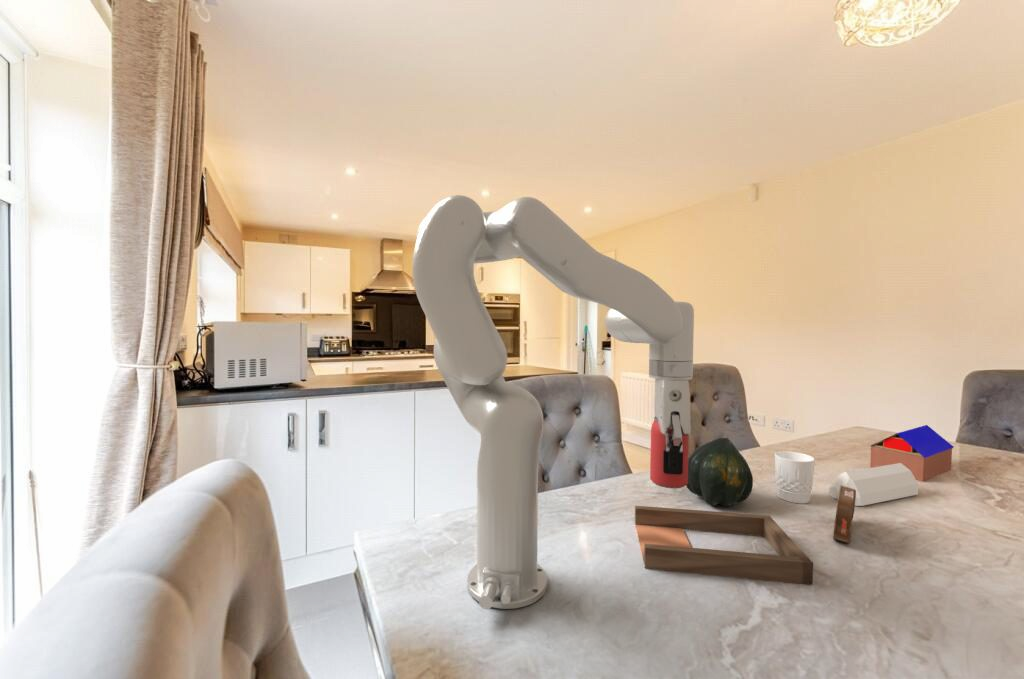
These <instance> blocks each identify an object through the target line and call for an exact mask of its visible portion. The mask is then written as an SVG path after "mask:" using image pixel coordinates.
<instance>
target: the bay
mask: <svg viewBox="0 0 1024 679" xmlns="http://www.w3.org/2000/svg"><path fill="white" fill-rule="evenodd" d="M634 525H636V526H635V529H636V534H638V535H637V539H638V538H639V539H638V543H639V547H641V548H640V552H641V557H642V556H643V557H642V560H643V566H644V565H645V566H644V568H645V569H648V568H651V570H658V569H659V570H658V571H669V572H670V571H671V572H682V573H689V574H690V573H691V574H700V575H709V576H710V575H712V576H720V577H721V576H722V577H732V578H742V579H753V580H761V581H762V580H763V581H771V582H772V581H773V582H780V583H781V582H782V583H792V584H801V585H812V586H813V579H814V575H813V574H814V562H813V561H812V560H811V559H810V558H809V557H808V556H807V555H806V554H805V553H804V551H803V550H802V549H801V548H800V547H799V546H798V545H797V544H796V543H795V541H794V540H792V539H791V537H790V536H789V535H788V533H786V532H785V531H784V530H783V529H782V528H781V526H780V525H779V524H778V523H777V522H776V521H775V520H774V519H773V518H772V517H771V515H768V514H765V515H764V514H754V513H753V514H752V513H740V512H738V513H737V512H726V511H712V510H699V509H686V508H685V509H684V508H674V507H671V508H670V507H659V506H647V505H634ZM684 529H688V530H687V531H696V530H700V531H699V532H708V531H711V533H720V532H723V534H733V535H734V534H735V535H736V534H737V535H744V536H745V535H748V536H758V537H759V536H760V537H764V538H765V540H766V541H767V543H769V545H770V546H771V547H772V548H773V550H774V551H775V552H776V554H770V553H769V554H767V553H755V552H748V551H747V552H746V551H745V552H744V551H733V550H723V549H710V548H699V547H692V546H691V544H690V542H689V539H688V538H687V536H686V535H687V534H686V533H685V530H684ZM689 529H690V530H689Z"/></svg>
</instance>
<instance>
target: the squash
mask: <svg viewBox="0 0 1024 679" xmlns="http://www.w3.org/2000/svg"><path fill="white" fill-rule="evenodd" d="M751 470H752V469H751V468H750V465H749V464H748V462H747V460H746V459H745V457H744V456H743V455H742V453H741V452H740V451H739V450H738V449H737V448H736V446H735V445H734V443H733V442H732V441H731V440H730V439H729V438H728V437H720V438H716V439H713V440H712V441H708V442H706V443H705V444H702V445H701V446H698V448H696V449H695V450H694V451H692V453H691V454H690V455H688V484H687V485H686V486H685V487H686V488H687V489H688V490H689V492H691V493H692V494H694V495H696V496H698V497H700V498H703V499H704V501H705V502H706V503H707V504H708V505H710V506H713V507H714V506H715V507H716V506H717V505H719V504H720V505H722V506H723V507H730V506H734V505H735V504H736V503H741V502H744V501H747V499H748V498H749V496H750V495H751V494H752V490H753V486H754V485H753V484H754V479H753V473H752V471H751Z"/></svg>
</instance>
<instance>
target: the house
mask: <svg viewBox="0 0 1024 679" xmlns="http://www.w3.org/2000/svg"><path fill="white" fill-rule="evenodd" d="M869 447H870V462H869V464H870V467H869V468H873V467H879V466H885V465H891V464H898V463H902V464H903V465H904V466H905V467H907V468H908V469H909V470H911V472H912V474H913V475H914V477H915V479H916V481H917V482H921V483H923V482H925V481H928V480H930V479H932V478H935V477H937V476H940V475H941V474H944V473H946V472H948V471H951V470H952V459H953V458H952V457H953V456H952V455H953V449H954V446H953V445H952V444H951V443H950V442H949V441H947V440H946V439H945V437H943V436H941V434H939V433H937V432H936V431H935V430H934V429H932V427H930V426H929V425H928V424H925V425H921V426H919V427H915V428H911V429H908V430H907V429H906V430H904V431H900V432H896V433H893V434H892V435H891V436H888V437H886V438H883V439H881V440H880V441H877V442H874V443H873V444H871V445H869Z"/></svg>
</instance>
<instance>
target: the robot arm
mask: <svg viewBox="0 0 1024 679" xmlns="http://www.w3.org/2000/svg"><path fill="white" fill-rule="evenodd" d="M412 257H413V258H412V265H411V266H412V267H411V268H412V282H413V287H414V290H415V294H416V297H417V300H418V302H419V304H420V307H421V309H422V311H423V313H424V315H425V318H426V320H427V322H428V324H429V327H430V329H431V330H432V332H433V334H434V336H435V338H436V339H435V342H434V344H433V358H434V363H435V364H436V367H437V369H438V372H439V373H440V375H441V377H442V380H443V381H444V383H445V385H446V386H447V389H448V391H449V393H450V394H451V396H452V398H453V401H454V402H455V404H456V405H457V407H458V409H459V411H460V413H461V415H462V416H463V417H464V419H465V421H466V423H467V424H468V425H469V426H470V427H471V428H472V429H473V430H475V431H476V432H478V433H479V434H480V447H479V452H478V458H477V464H476V466H477V467H476V564H475V565H474V566H473V567H471V569H470V570H469V572H468V574H467V580H466V582H467V583H466V584H467V585H466V586H467V590H468V593H469V595H471V597H472V598H473V599H475V600H476V601H477V602H479V605H480V607H481V608H482V609H484V610H489V609H492V608H494V609H502V610H503V609H504V610H509V609H510V610H512V609H519V608H520V609H521V608H523V607H527V606H529V605H531V604H534V603H536V602H537V601H538V600H539V599H541V598H542V597H543V596H544V595H545V593H546V591H547V589H548V575H547V573H546V570H544V568H543V567H542V566H541V565H540V564H539V563H538V532H539V531H538V522H539V520H538V519H539V518H538V517H539V515H538V514H539V513H538V511H539V510H538V509H539V508H538V507H539V505H538V504H539V503H538V502H539V501H538V499H539V498H538V497H539V495H538V494H539V492H538V491H539V487H538V486H539V479H538V478H539V459H540V457H539V456H540V449H541V443H542V438H543V432H544V414H543V413H544V412H543V409H542V407H541V405H540V403H539V401H538V400H537V398H536V397H535V396H534V395H533V394H532V393H531V392H529V391H528V389H525V388H524V387H522V386H520V385H516V384H513V383H512V382H508V381H506V379H505V378H504V376H503V374H504V372H505V371H506V368H507V365H508V353H507V349H506V345H505V342H504V341H503V339H502V337H501V335H500V334H499V332H498V330H497V327H496V325H495V324H494V322H493V319H492V317H491V315H490V313H489V311H488V309H487V307H486V305H485V303H484V302H483V299H482V297H481V293H480V291H479V289H478V286H477V283H476V280H475V274H474V266H475V264H484V263H485V264H486V263H494V262H503V261H507V260H513V259H516V258H519V257H520V258H521V259H522V260H523V261H525V262H526V263H527V264H528V265H529V266H531V267H532V268H533V269H534V270H536V272H538V273H539V274H541V275H542V276H543V277H545V279H547V280H548V281H549V282H550V283H551V284H553V285H554V286H555V287H556V288H558V290H560V291H561V292H563V293H564V294H567V295H569V296H571V297H574V298H577V299H580V300H584V301H588V302H593V303H596V304H599V305H602V306H605V307H608V308H609V309H608V310H607V313H606V314H605V317H604V318H605V319H604V326H605V329H606V332H607V333H608V334H609V335H610V336H611V337H612V338H613V339H615V340H617V341H619V342H623V343H631V344H632V343H633V344H647V345H648V344H649V346H648V351H649V353H648V356H649V357H648V358H649V360H648V377H649V378H650V379H654V398H653V399H654V402H653V404H654V407H653V408H654V414H653V415H654V417H656V419H658V423H659V428H660V432H661V433H662V434H663V435H664V436H665V450H663V472H664V473H665V474H679V475H681V474H682V473H683V445H682V432H683V433H684V434H685V435H686V436H689V437H690V435H691V433H692V431H691V430H692V426H691V425H692V424H691V422H692V421H691V418H692V417H691V396H690V395H691V394H690V393H691V392H690V384H689V381H690V380H693V377H694V335H695V334H694V332H695V331H694V329H695V308H694V306H693V305H692V304H691V303H690V302H688V301H687V302H686V301H675V300H674V299H673V297H671V296H670V294H668V293H667V291H665V290H664V289H663V287H661V286H660V285H659V284H657V283H656V281H654V280H653V279H652V278H650V277H649V276H647V275H645V274H644V273H642V272H640V271H639V270H637V269H635V268H633V267H631V266H628V265H626V264H624V263H623V262H620V261H618V260H617V259H614V258H613V257H610V256H608V255H606V254H604V253H601V252H599V251H598V250H597V249H595V248H594V247H593V246H591V244H589V243H588V242H587V241H586V239H584V238H582V237H581V235H579V234H578V233H577V232H576V231H575V230H574V229H573V228H571V226H569V225H568V224H567V223H566V222H565V221H564V220H563V219H562V218H560V217H559V216H558V215H557V214H556V212H554V211H553V210H551V209H550V207H548V206H547V205H546V204H545V203H543V202H542V201H540V200H539V199H538V198H536V197H535V198H534V197H531V196H523V197H519V198H516V199H514V200H513V201H510V202H508V203H507V204H506V205H504V206H503V207H501V208H500V209H497V210H493V211H492V210H491V211H487V212H486V211H485V212H483V210H482V208H481V206H480V205H479V203H477V202H476V201H475V200H474V199H473V198H471V197H468V196H466V195H458V194H455V195H451V196H448V197H445V198H443V199H441V200H440V201H439V202H438V203H436V204H435V205H434V206H433V207H432V208H431V210H430V211H429V212H428V213H427V215H426V216H425V217H424V218H423V220H422V221H421V222H420V224H419V226H418V228H417V231H416V242H415V244H414V251H413V256H412ZM681 427H682V429H683V431H681ZM667 430H672V432H673V433H668V432H667ZM669 437H672V439H670V441H669Z"/></svg>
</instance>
